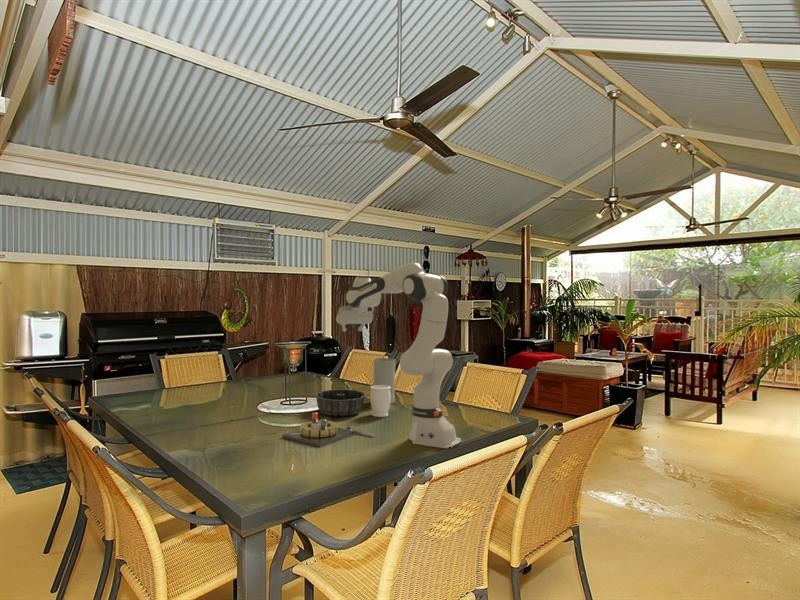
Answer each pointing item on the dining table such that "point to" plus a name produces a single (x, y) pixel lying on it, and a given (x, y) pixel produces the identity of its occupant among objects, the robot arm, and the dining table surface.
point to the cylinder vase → (385, 374)
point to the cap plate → (314, 440)
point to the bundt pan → (340, 402)
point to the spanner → (360, 432)
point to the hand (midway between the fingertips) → (351, 331)
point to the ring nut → (318, 432)
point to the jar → (380, 400)
